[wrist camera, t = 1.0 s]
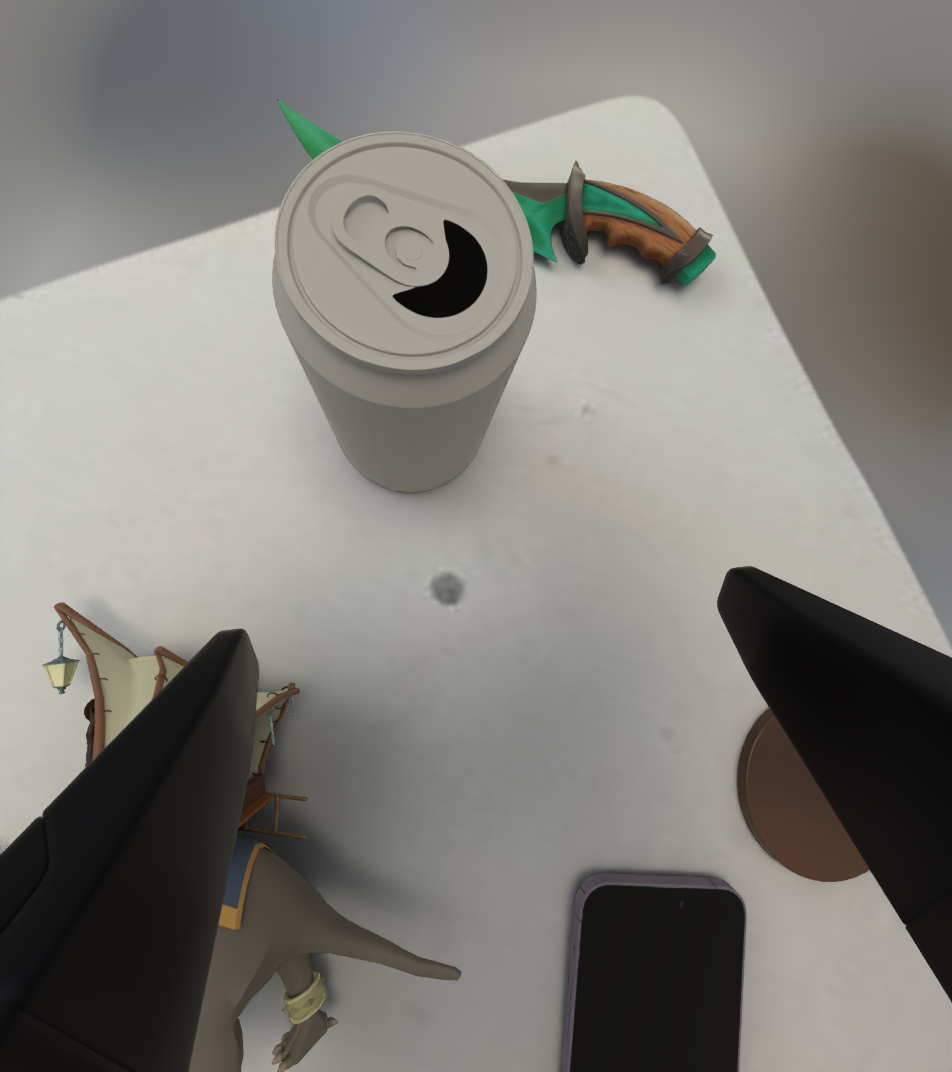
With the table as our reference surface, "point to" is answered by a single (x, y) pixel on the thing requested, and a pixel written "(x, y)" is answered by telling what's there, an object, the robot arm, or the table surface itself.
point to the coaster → (792, 809)
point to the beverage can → (404, 299)
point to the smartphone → (655, 975)
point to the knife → (583, 215)
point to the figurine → (238, 871)
